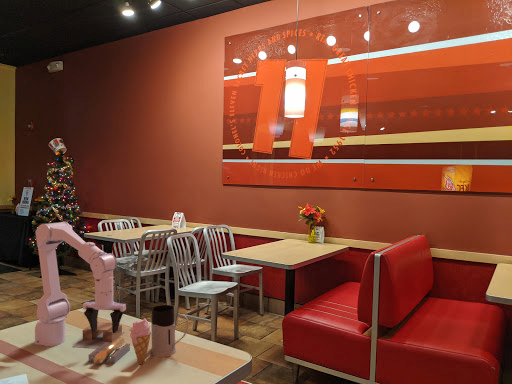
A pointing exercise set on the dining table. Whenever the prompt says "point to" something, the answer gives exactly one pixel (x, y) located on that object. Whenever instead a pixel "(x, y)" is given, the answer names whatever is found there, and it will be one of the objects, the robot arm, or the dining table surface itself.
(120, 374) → the dining table surface
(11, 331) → the dining table surface
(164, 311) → the glass holder
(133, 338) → the ice cream cone
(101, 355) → the axle
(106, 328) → the bridge block
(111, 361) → the v block
